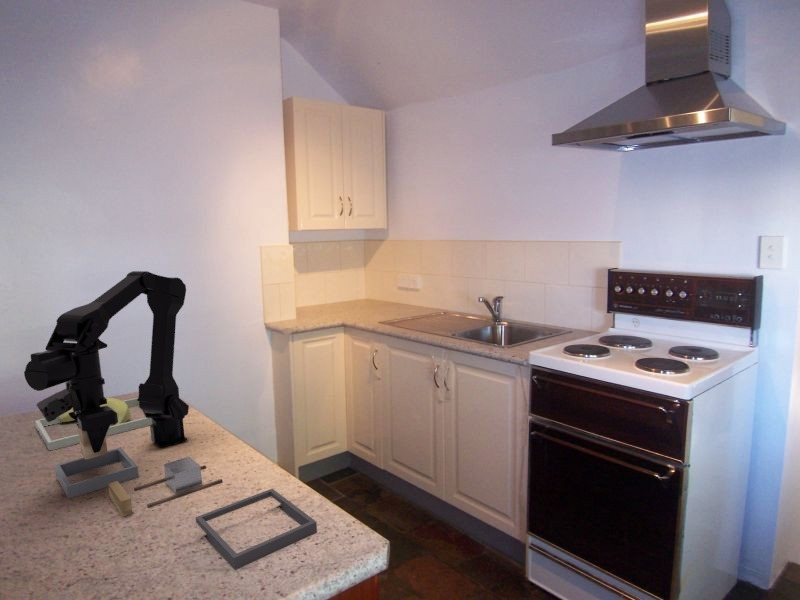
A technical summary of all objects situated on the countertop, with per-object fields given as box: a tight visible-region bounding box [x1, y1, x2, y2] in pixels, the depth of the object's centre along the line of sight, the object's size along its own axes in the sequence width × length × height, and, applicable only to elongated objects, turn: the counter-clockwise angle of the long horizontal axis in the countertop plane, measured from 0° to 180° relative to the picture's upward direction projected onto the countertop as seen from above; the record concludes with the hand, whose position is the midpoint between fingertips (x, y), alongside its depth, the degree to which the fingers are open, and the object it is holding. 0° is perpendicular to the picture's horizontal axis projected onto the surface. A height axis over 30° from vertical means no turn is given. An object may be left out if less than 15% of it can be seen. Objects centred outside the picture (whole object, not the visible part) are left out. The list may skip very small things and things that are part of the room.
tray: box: [54, 447, 140, 499], centre depth 114 cm, size 13×13×4 cm
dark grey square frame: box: [195, 488, 318, 571], centre depth 95 cm, size 15×16×2 cm
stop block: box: [77, 426, 108, 460], centre depth 113 cm, size 4×4×6 cm
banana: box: [59, 397, 132, 425], centre depth 145 cm, size 14×6×20 cm
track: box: [108, 464, 224, 517], centre depth 107 cm, size 21×9×4 cm, turn 130°
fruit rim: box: [35, 397, 152, 452], centre depth 146 cm, size 26×20×2 cm
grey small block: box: [163, 456, 203, 495], centre depth 109 cm, size 5×6×4 cm
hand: (94, 448), depth 113 cm, fingers closed on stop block, 4 cm apart
